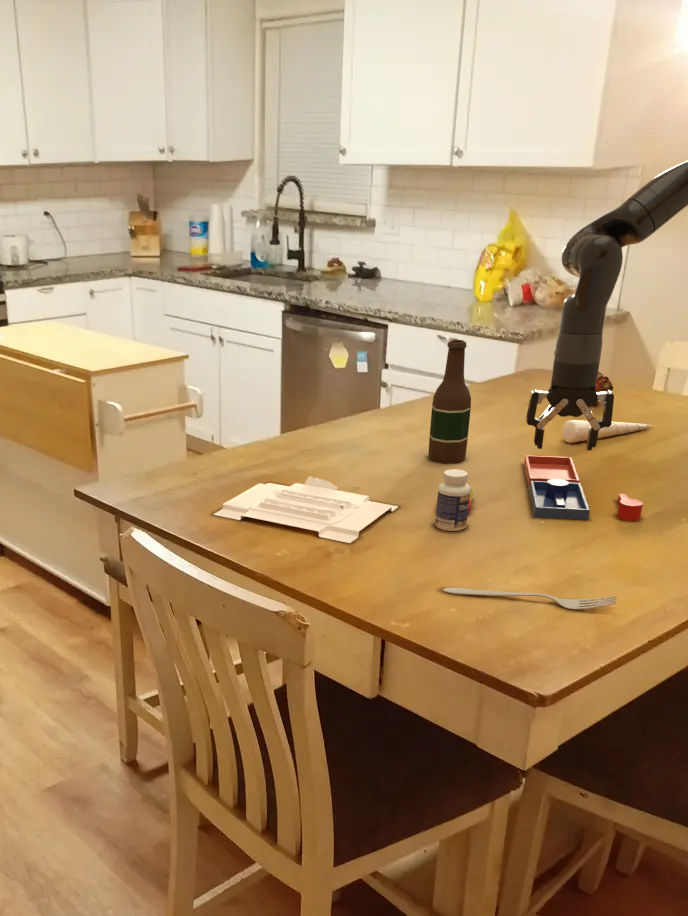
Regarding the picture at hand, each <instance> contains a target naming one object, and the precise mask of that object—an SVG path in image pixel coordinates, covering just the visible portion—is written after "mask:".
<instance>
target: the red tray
mask: <svg viewBox="0 0 688 916" xmlns="http://www.w3.org/2000/svg"><path fill="white" fill-rule="evenodd" d="M574 463H575V462H574V460H573V458H572V456H554V455H553V456H549V455H529V454H527V455H524V461H523V466H524V471H525V475H526V476H525V477H526V481H527V487H528V488H529V489H530V481H546V482H547V481H548V480H551V479H561V480H565V481H568V482H569V483H580V478H579V474H578V472H577V469H576V466H575V464H574Z"/></svg>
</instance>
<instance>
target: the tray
mask: <svg viewBox="0 0 688 916" xmlns="http://www.w3.org/2000/svg"><path fill="white" fill-rule="evenodd" d="M398 507H399V506H398V505H392V504H388V503H382V502H376V501H371V500H370V496H369V495H366V494H365V495H364V494H360V493H355V492H354V493H353V492H349V491H343V490H338V486H337V485H336V484H333V483H332V482H330V481H328V480H326V479H321V478H319V477H315V476H312V475H310V476H308V477H307V479H305V482H302V483H299V482H295V483H293V484H292V485H290V486H289V485H283V484H277V483H272V482H267V483H262V482H261V483H260V482H259V483H257V484H256V485H254V486H251V487H250V488H249V489H247V490H245V491H243V492H242V493H241V492H240V494H238V495H236V496H234V497H233V498H231V499H229V500H227V501H225V502H224V503H222V508H221V509H220V510H218V511H216V512H215V513H213V514H212V515H213V516H218V517H224V518H227V519H233V520H237V521H241V520H243V519H244V518H246V517H247V518H252V519H256V520H262V521H267V522H271V523H276V524H280V525H284V526H285V525H286V526H290V527H296V528H300V529H305V530H310V531H314V532H318V537H319V538H324V539H327V540H332V541H333V540H334V541H338V542H343V543H346V544H347V543H348V544H351V543H352V542H354V541H355V540H357V539H358V538H359V536H360V531H362V530H363V529H365V528H366V527H368V525H370V524H372V522H374V521H375V520H377V519H378V518H379V517H380V516H382V515H383V514H385V513H386V512H394V511H395V510H396V509H398Z"/></svg>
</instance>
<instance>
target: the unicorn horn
mask: <svg viewBox="0 0 688 916" xmlns="http://www.w3.org/2000/svg"><path fill="white" fill-rule="evenodd" d="M589 427H591V425H590V423H589V422H588V421H587V420H580V419H579V420H578V419H569V420H567V421H566V422H565V423H564V424H563V426H562V429H561V437H562V438H563V440H564V441H565V442H566V443H569V444H573V443H579V442H585V441H586V442H587V439H588V433H589ZM649 428H652V425H651V424H646V423H639V422H636V423H635V422H620V421H612V423H611V426H610V427H604V428H601V429H600V430H599V432H598V438H597V439H602V438H608V437H612V436H618V435H624V434H629V433H634V432H637V431H642V430H647V429H649Z"/></svg>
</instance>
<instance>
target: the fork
mask: <svg viewBox="0 0 688 916" xmlns="http://www.w3.org/2000/svg"><path fill="white" fill-rule="evenodd" d="M442 591H443V592H444V593H448V594H453V595H467V596H468V595H469V596H489V597H490V596H491V597H541V598H547V599H549V600H552V601H553V602H555V603H556V604H558V606H561V607H563V608H565V609H568V610H586V609H594V608H600V607H601V608H602V607H607V606H612V605H617V597H618V596H617V595H613V596H607V597H595V598H585V599H584V598H560V597H556V596H553V595H550V594H546V593H538V592H517V591H516V592H515V591H513V592H512V591H498V590H488V589H487V590H485V589H474V588H465V587H445V588H443V589H442Z"/></svg>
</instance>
